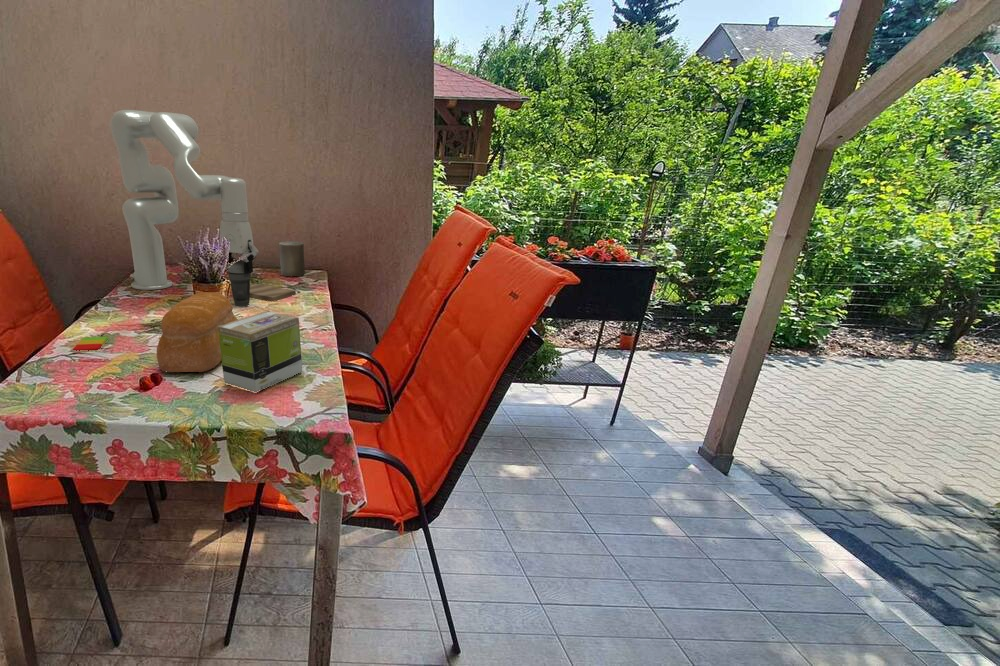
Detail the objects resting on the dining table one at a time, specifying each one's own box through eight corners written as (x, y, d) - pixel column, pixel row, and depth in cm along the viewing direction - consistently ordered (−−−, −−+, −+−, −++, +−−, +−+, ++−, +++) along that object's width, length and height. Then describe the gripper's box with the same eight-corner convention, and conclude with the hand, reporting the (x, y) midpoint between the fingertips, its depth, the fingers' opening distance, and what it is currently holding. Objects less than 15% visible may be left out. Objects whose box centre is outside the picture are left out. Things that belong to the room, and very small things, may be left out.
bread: (245, 339, 151) (241, 287, 146) (213, 375, 126) (208, 315, 122) (193, 338, 148) (188, 285, 144) (151, 375, 124) (143, 313, 119)
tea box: (272, 364, 135) (268, 309, 130) (303, 373, 132) (301, 316, 127) (222, 385, 122) (216, 324, 117) (255, 395, 118) (251, 332, 114)
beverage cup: (242, 309, 176) (237, 249, 170) (225, 305, 178) (219, 246, 172) (258, 304, 183) (254, 246, 177) (241, 301, 185) (237, 243, 179)
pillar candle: (309, 276, 227) (307, 241, 223) (287, 278, 220) (285, 242, 216) (298, 271, 234) (296, 237, 229) (276, 273, 227) (274, 238, 222)
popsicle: (72, 356, 131) (70, 349, 131) (90, 336, 144) (89, 330, 144) (99, 355, 133) (97, 348, 133) (114, 335, 147) (113, 329, 146)
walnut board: (232, 293, 192) (232, 289, 192) (257, 287, 203) (256, 283, 203) (272, 301, 187) (272, 297, 187) (295, 294, 198) (295, 290, 198)
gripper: (204, 215, 170) (209, 269, 176) (248, 221, 165) (252, 277, 171) (223, 213, 177) (227, 266, 183) (265, 219, 172) (268, 273, 178)
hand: (239, 271), depth 177 cm, fingers closed on beverage cup, 7 cm apart
